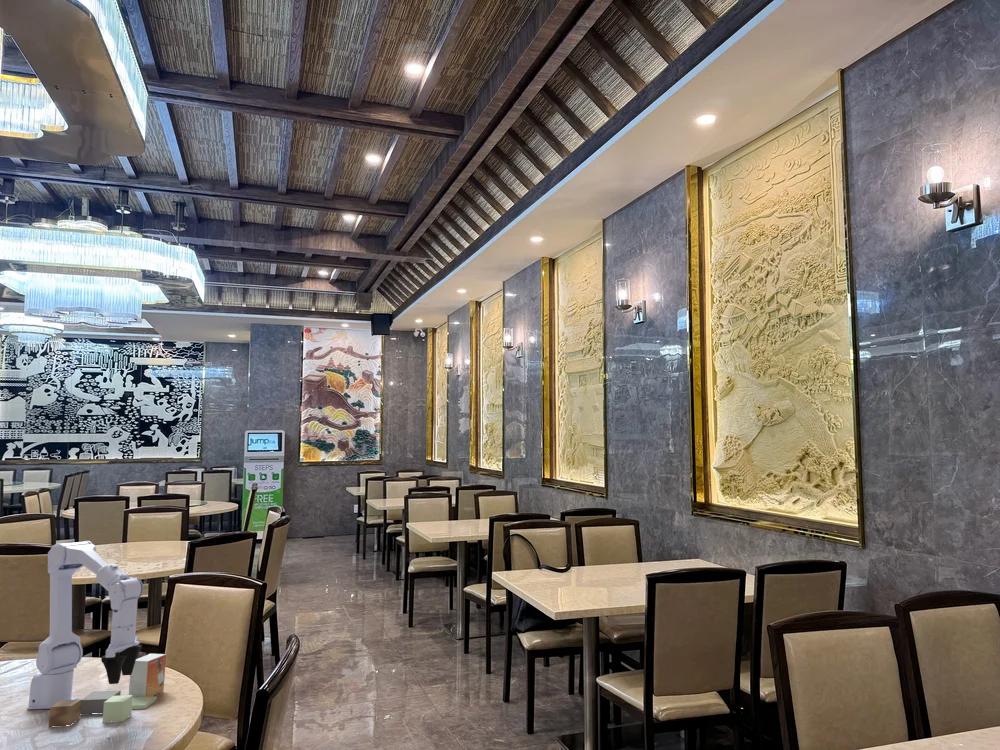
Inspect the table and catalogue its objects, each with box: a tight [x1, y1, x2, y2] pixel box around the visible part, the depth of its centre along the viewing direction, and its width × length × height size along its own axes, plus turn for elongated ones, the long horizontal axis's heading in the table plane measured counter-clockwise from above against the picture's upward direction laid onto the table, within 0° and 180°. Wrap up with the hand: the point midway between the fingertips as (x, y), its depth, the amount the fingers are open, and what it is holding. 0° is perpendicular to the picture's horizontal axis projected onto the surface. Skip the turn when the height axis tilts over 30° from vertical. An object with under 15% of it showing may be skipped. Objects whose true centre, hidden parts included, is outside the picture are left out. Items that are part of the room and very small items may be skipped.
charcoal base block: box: [80, 689, 122, 715], centre depth 180 cm, size 7×7×4 cm
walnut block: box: [48, 698, 82, 728], centre depth 170 cm, size 5×5×5 cm
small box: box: [128, 653, 167, 697], centre depth 192 cm, size 8×6×10 cm
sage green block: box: [102, 694, 133, 723], centre depth 173 cm, size 5×5×5 cm
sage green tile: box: [132, 695, 157, 710], centre depth 183 cm, size 7×7×1 cm
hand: (120, 679), depth 174 cm, fingers open, 7 cm apart
